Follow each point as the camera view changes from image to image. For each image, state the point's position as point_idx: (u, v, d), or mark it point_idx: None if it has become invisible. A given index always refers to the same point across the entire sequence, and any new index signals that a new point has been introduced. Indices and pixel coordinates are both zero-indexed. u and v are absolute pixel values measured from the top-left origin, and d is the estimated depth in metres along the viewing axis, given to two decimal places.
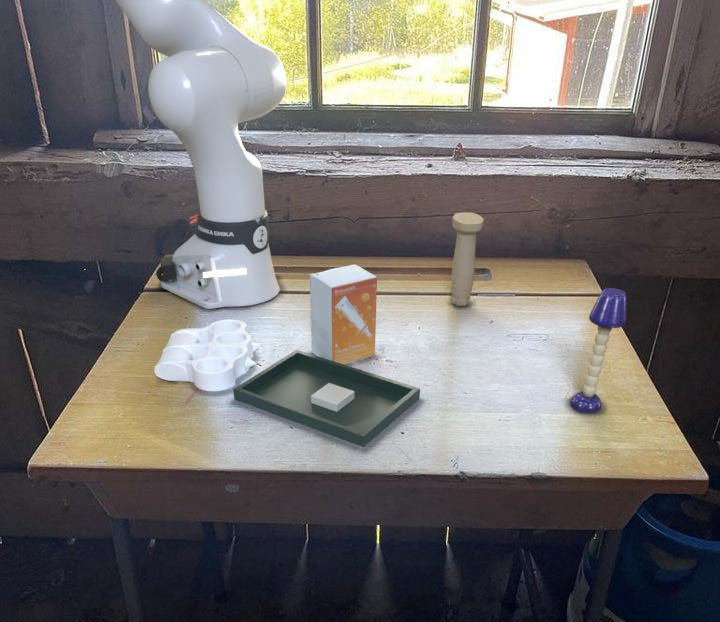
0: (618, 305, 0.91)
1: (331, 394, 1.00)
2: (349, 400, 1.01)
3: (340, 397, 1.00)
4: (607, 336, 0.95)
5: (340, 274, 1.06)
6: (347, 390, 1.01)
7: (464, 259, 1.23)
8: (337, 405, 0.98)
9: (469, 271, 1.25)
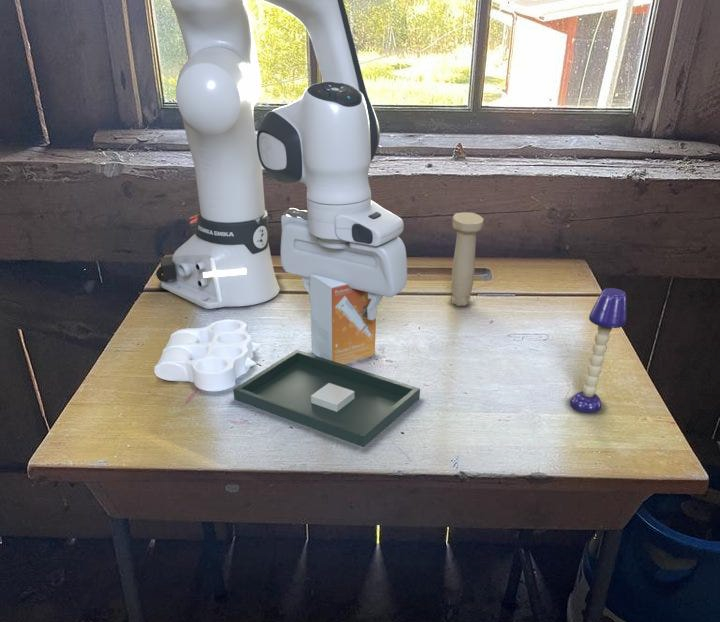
0: (618, 305, 0.91)
1: (331, 394, 1.00)
2: (349, 400, 1.01)
3: (340, 397, 1.00)
4: (607, 336, 0.95)
5: None
6: (347, 390, 1.01)
7: (464, 258, 1.23)
8: (337, 405, 0.98)
9: (469, 271, 1.25)
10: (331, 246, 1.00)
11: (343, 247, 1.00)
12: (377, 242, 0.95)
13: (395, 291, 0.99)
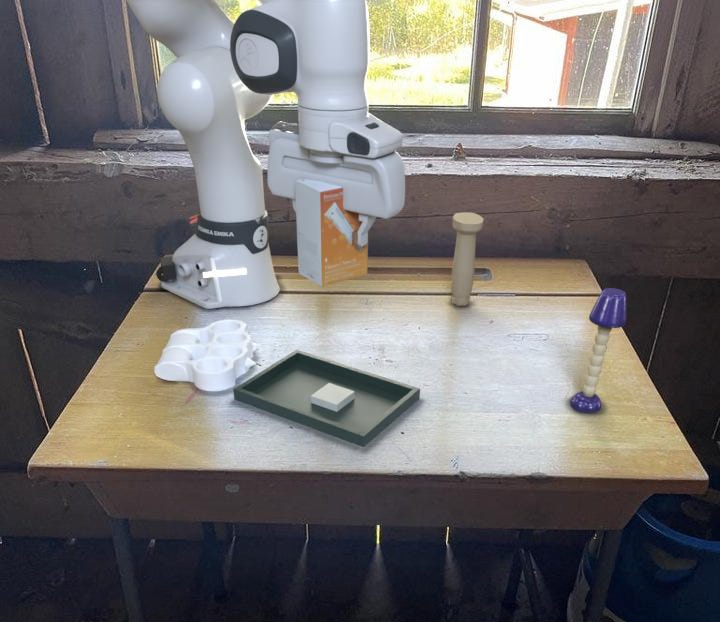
0: (618, 305, 0.91)
1: (331, 394, 1.00)
2: (349, 400, 1.01)
3: (340, 397, 1.00)
4: (607, 336, 0.95)
5: None
6: (347, 390, 1.01)
7: (464, 258, 1.23)
8: (337, 405, 0.98)
9: (469, 271, 1.25)
10: (323, 160, 0.92)
11: (336, 162, 0.92)
12: (374, 153, 0.87)
13: (392, 210, 0.92)
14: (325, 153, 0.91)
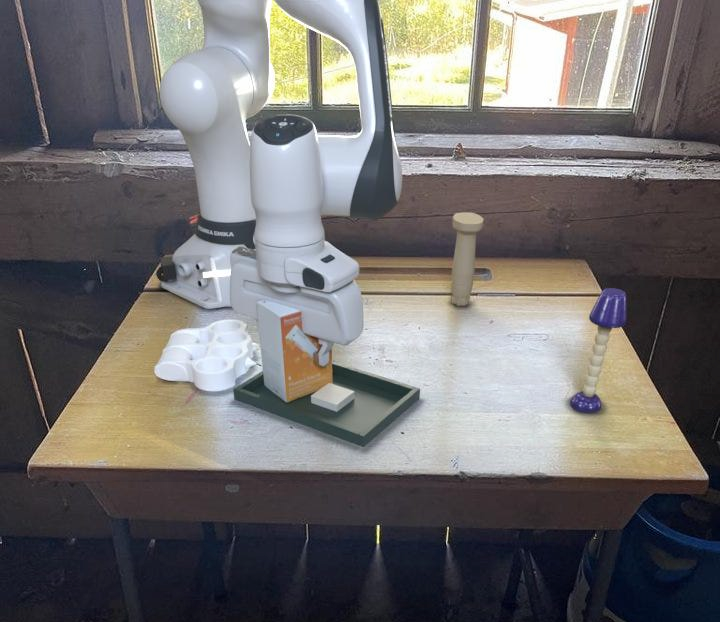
0: (618, 305, 0.91)
1: (331, 394, 1.00)
2: (349, 400, 1.01)
3: (340, 397, 1.00)
4: (607, 336, 0.95)
5: None
6: (347, 390, 1.01)
7: (464, 258, 1.23)
8: (337, 405, 0.98)
9: (469, 271, 1.25)
10: (281, 290, 0.92)
11: (294, 291, 0.92)
12: (329, 288, 0.88)
13: (350, 339, 0.92)
14: (282, 283, 0.92)
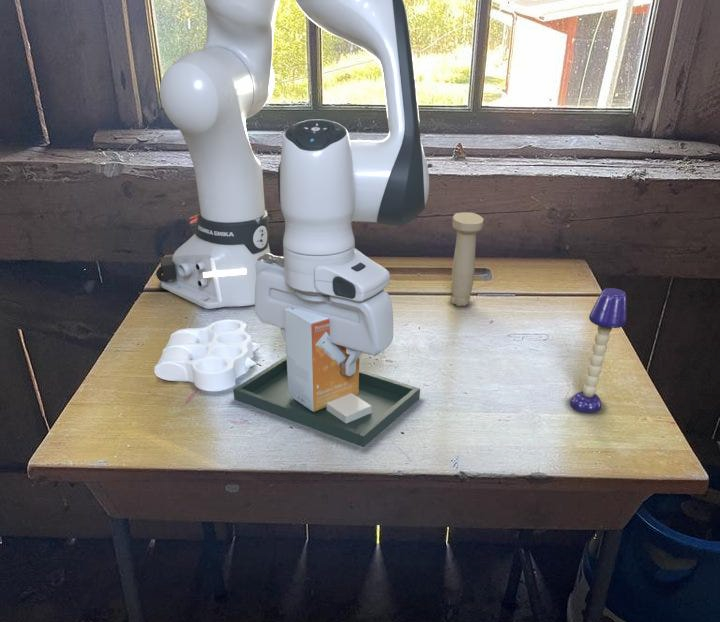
0: (618, 305, 0.91)
1: (346, 405, 0.98)
2: (364, 414, 0.98)
3: (353, 409, 0.97)
4: (607, 336, 0.95)
5: None
6: (365, 403, 0.98)
7: (464, 258, 1.23)
8: (347, 417, 0.96)
9: (469, 271, 1.25)
10: (310, 298, 0.90)
11: (323, 300, 0.90)
12: (360, 297, 0.86)
13: (380, 349, 0.90)
14: (311, 292, 0.90)
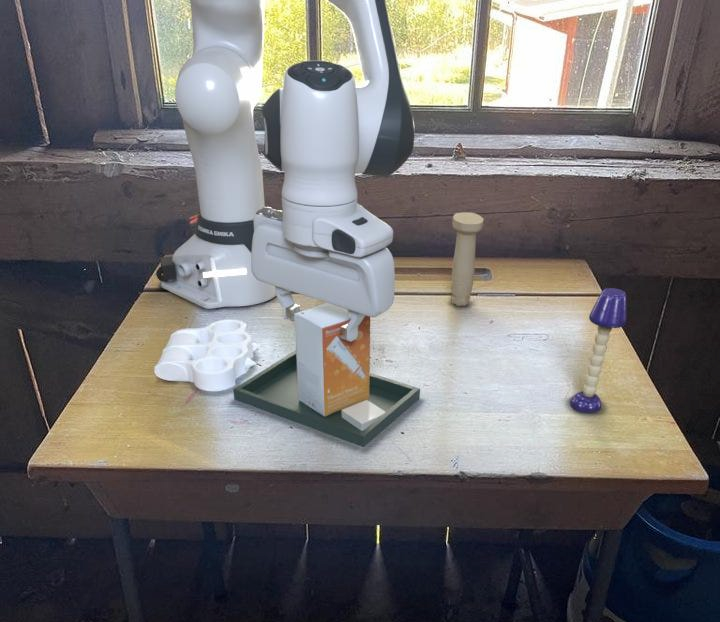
0: (618, 305, 0.91)
1: (362, 412, 0.97)
2: None
3: (369, 417, 0.96)
4: (607, 336, 0.95)
5: (329, 311, 0.94)
6: (380, 410, 0.97)
7: (464, 258, 1.23)
8: (362, 424, 0.95)
9: (469, 271, 1.25)
10: (308, 254, 0.85)
11: (321, 256, 0.85)
12: (360, 253, 0.81)
13: (379, 310, 0.85)
14: (309, 247, 0.85)
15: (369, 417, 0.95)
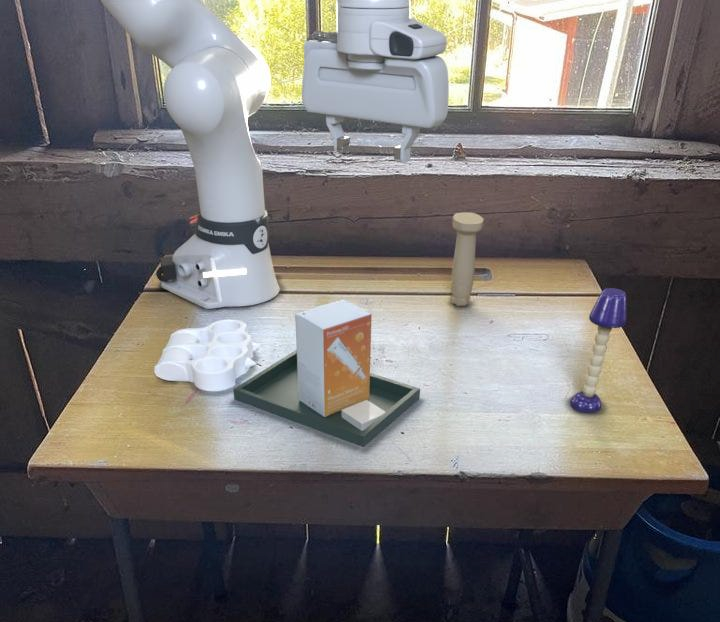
0: (618, 305, 0.91)
1: (362, 412, 0.97)
2: None
3: (369, 417, 0.96)
4: (607, 336, 0.95)
5: (330, 312, 0.94)
6: (380, 410, 0.97)
7: (464, 258, 1.23)
8: (362, 424, 0.95)
9: (469, 271, 1.25)
10: (363, 66, 0.87)
11: (377, 67, 0.87)
12: (419, 53, 0.83)
13: (435, 118, 0.87)
14: (365, 58, 0.87)
15: (369, 417, 0.95)
